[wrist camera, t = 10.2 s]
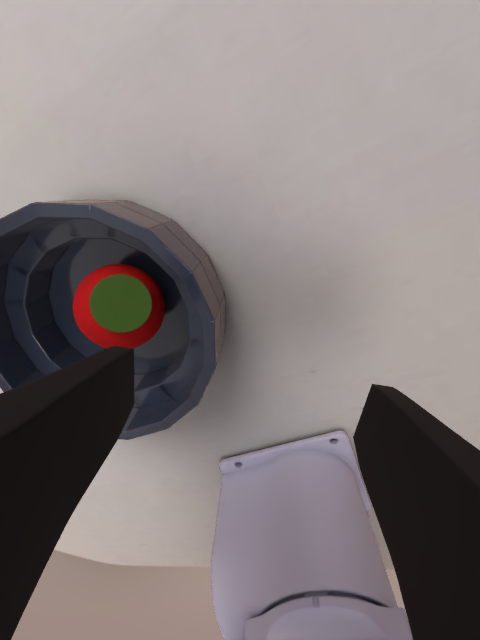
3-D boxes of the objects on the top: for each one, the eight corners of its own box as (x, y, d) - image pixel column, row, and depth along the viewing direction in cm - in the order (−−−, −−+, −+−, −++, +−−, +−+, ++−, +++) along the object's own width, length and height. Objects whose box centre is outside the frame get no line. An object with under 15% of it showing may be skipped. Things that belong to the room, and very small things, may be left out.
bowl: (95, 409, 22) (57, 460, 18) (-15, 249, 18) (-97, 266, 14) (255, 360, 20) (253, 405, 16) (169, 161, 16) (136, 150, 11)
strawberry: (100, 361, 18) (95, 371, 13) (63, 289, 17) (44, 275, 13) (172, 327, 19) (187, 326, 15) (140, 261, 18) (146, 239, 14)
